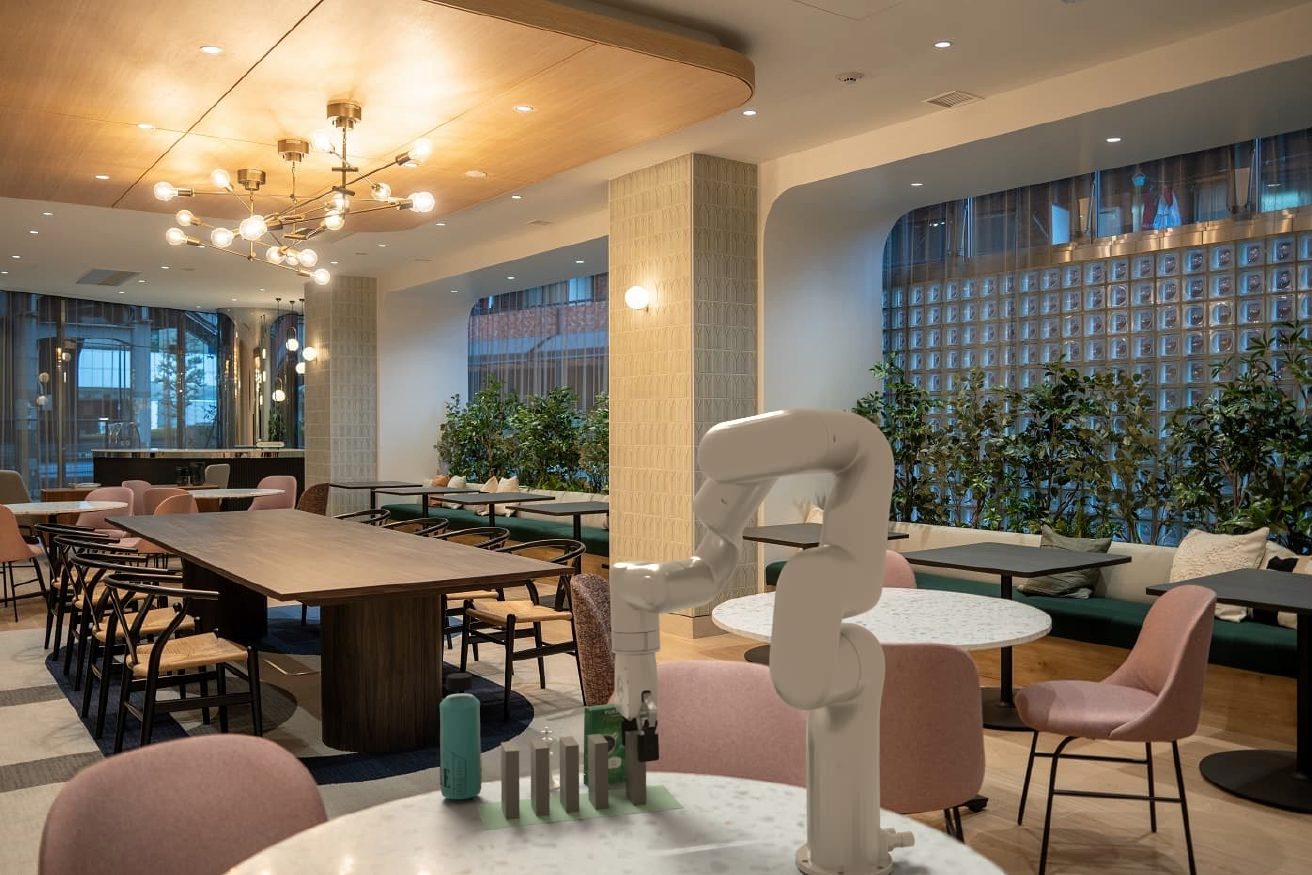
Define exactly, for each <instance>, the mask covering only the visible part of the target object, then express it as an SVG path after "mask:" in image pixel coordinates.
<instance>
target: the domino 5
mask: <svg viewBox="0 0 1312 875" xmlns="http://www.w3.org/2000/svg"><path fill="white" fill-rule="evenodd" d="M637 735H639V732H638V731H627V732H625V761H626V782H625V789H626V796H627V798H628V799H629V800H630V802H631V803H632V804H633V806H639V805H646V787H647V762H639V761H638V752H637Z"/></svg>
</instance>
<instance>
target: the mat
mask: <svg viewBox="0 0 1312 875" xmlns="http://www.w3.org/2000/svg"><path fill="white" fill-rule="evenodd" d="M475 806H476V809H477V812H478V814H479V818H480V821H481V823H482V827H483V830H484V831H486V830H487V831H488V830H496V829H506V828H514V827H515V828H516V827H525V826H533V825H543V824H551V823H560V822H561V823H562V822H568V821H578V820H587V819H596V818H605V817H615V816H624V815H625V816H626V815H633V814H642V813H650V812H660V811H670V810H677V809H684V806H683V805H682V804H681V803H680V801H678V799H677V798H676V797H675V796H674V795H673V794H672V793H671V792H670V791H669V790H668V788H666V786H665V785H663V784H662V785H652V786H651V785H650V786H646V805H639V806H633V804H632V803H631V802H630V800H629V799H628V798H627V796H626V788H621V789H615V790H608V806H609V809H601V810H595V808H594V807H593V805H592V804H591V802H590V801H589V795H588V792H585V793H584V792H582V793H579V812H574V813H566V812H565V810H564V809H563V807H562V805H561V803H560V795H555V796H550V815H546V816H537V817H536V815H535V813H534V811H533V809H532V806H531V798H525V799H519V808H520V818H518V819H509V820H506V818H505V816H504V813H503V811H502V804H501V801H497V802H487V803H479V804H477V803H476V805H475Z"/></svg>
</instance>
